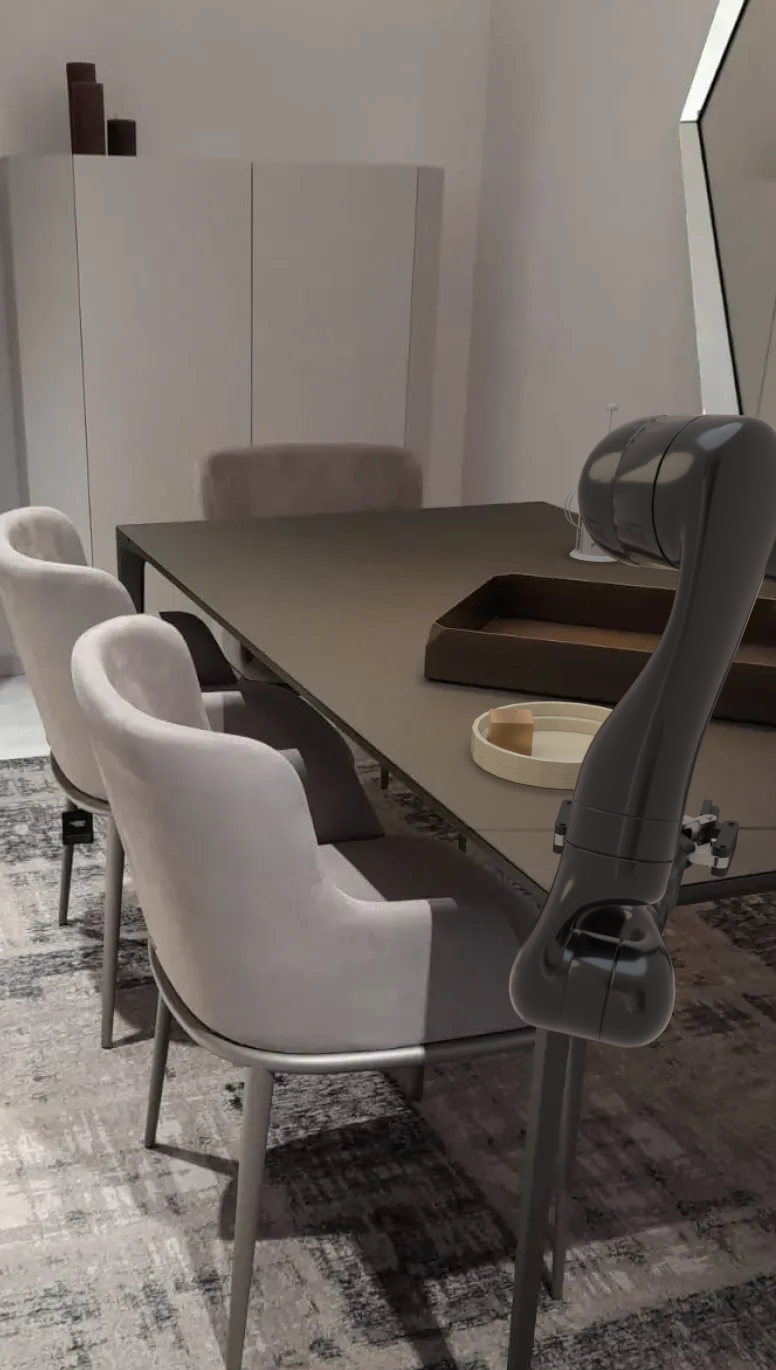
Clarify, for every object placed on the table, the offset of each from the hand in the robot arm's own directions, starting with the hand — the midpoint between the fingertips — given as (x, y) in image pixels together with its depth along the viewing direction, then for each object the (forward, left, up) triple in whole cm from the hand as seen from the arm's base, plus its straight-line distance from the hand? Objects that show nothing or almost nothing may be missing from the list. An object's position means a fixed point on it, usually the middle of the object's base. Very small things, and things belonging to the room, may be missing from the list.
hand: (655, 803), depth 117 cm
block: (+7, -33, -8) cm, 34 cm away
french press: (-23, -129, -9) cm, 131 cm away
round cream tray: (+1, -32, -8) cm, 33 cm away
